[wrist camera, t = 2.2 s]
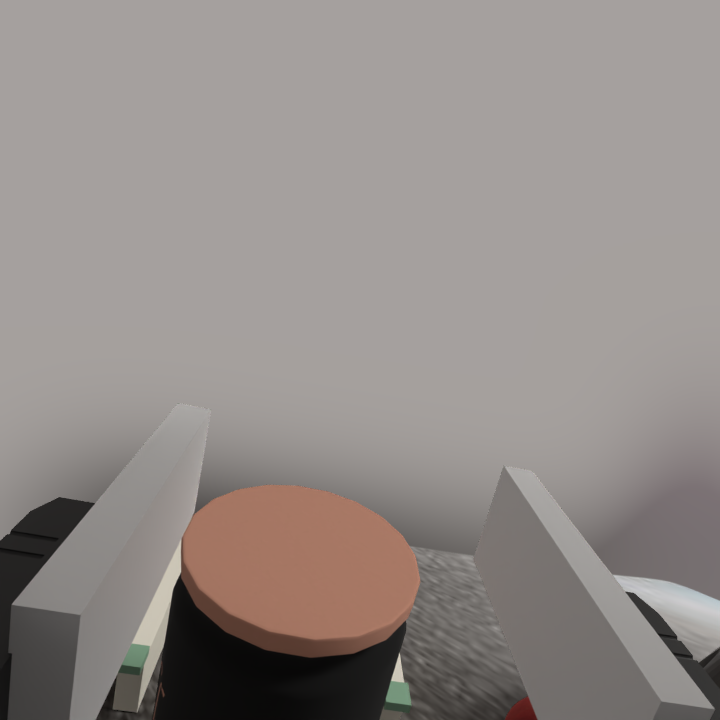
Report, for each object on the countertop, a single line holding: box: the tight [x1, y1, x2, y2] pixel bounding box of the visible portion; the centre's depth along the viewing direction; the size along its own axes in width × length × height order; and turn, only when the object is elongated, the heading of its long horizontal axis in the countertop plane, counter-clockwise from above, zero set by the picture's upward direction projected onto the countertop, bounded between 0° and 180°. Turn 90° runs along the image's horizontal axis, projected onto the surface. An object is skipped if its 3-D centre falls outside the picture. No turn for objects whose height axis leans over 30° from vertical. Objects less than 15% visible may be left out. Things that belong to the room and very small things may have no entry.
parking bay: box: [113, 517, 411, 720], centre depth 40 cm, size 18×16×5 cm
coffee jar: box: [152, 485, 420, 720], centre depth 26 cm, size 11×11×18 cm
